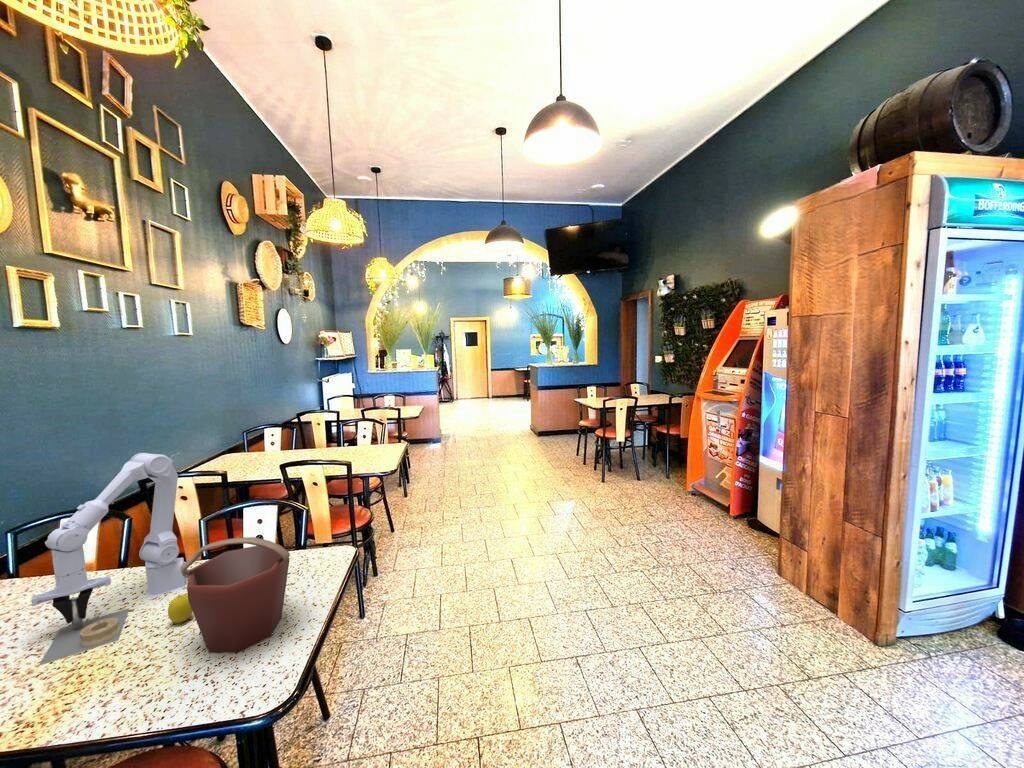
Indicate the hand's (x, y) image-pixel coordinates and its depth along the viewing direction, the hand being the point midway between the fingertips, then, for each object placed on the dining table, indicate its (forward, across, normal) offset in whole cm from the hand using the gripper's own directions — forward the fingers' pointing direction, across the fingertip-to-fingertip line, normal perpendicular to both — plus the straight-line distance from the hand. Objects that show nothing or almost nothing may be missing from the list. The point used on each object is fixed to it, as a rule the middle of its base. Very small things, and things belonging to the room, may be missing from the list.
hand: (76, 619), depth 112 cm
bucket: (+4, -35, +31) cm, 47 cm away
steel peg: (+2, 0, 0) cm, 2 cm away
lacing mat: (+3, -3, +5) cm, 7 cm away
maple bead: (+3, -6, +9) cm, 11 cm away
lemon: (+4, -22, +15) cm, 27 cm away
